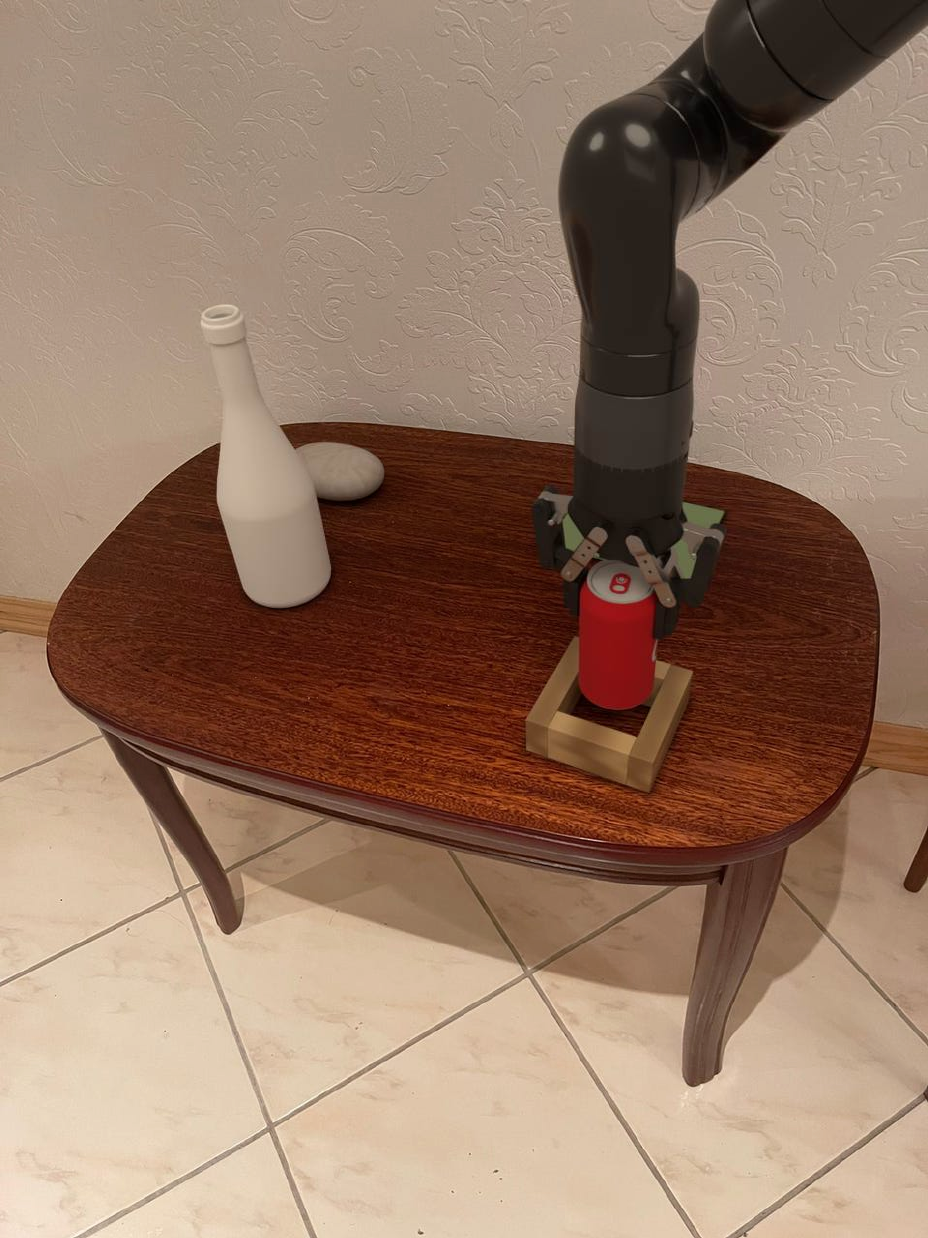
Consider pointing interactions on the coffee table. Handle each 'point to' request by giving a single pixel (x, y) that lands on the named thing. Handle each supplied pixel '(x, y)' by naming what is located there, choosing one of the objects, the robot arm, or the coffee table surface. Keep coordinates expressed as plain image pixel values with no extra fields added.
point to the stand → (600, 745)
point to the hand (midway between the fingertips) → (619, 620)
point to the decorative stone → (341, 470)
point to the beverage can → (617, 636)
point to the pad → (686, 564)
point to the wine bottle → (262, 481)
